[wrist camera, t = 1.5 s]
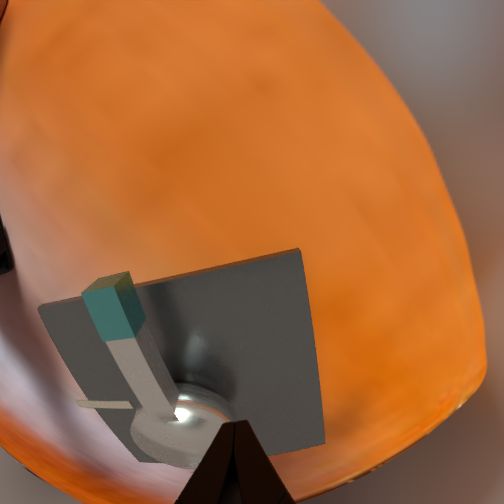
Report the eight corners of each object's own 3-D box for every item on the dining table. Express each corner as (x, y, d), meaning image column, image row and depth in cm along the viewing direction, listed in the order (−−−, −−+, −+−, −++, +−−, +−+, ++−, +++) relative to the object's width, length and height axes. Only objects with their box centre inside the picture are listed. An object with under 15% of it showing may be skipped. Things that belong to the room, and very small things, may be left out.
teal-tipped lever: (247, 438, 20) (248, 466, 17) (163, 444, 20) (158, 469, 17) (179, 255, 15) (166, 274, 12) (71, 281, 15) (46, 300, 12)
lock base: (127, 456, 25) (123, 470, 23) (29, 306, 19) (14, 319, 16) (323, 438, 25) (328, 455, 22) (298, 247, 18) (306, 259, 16)
